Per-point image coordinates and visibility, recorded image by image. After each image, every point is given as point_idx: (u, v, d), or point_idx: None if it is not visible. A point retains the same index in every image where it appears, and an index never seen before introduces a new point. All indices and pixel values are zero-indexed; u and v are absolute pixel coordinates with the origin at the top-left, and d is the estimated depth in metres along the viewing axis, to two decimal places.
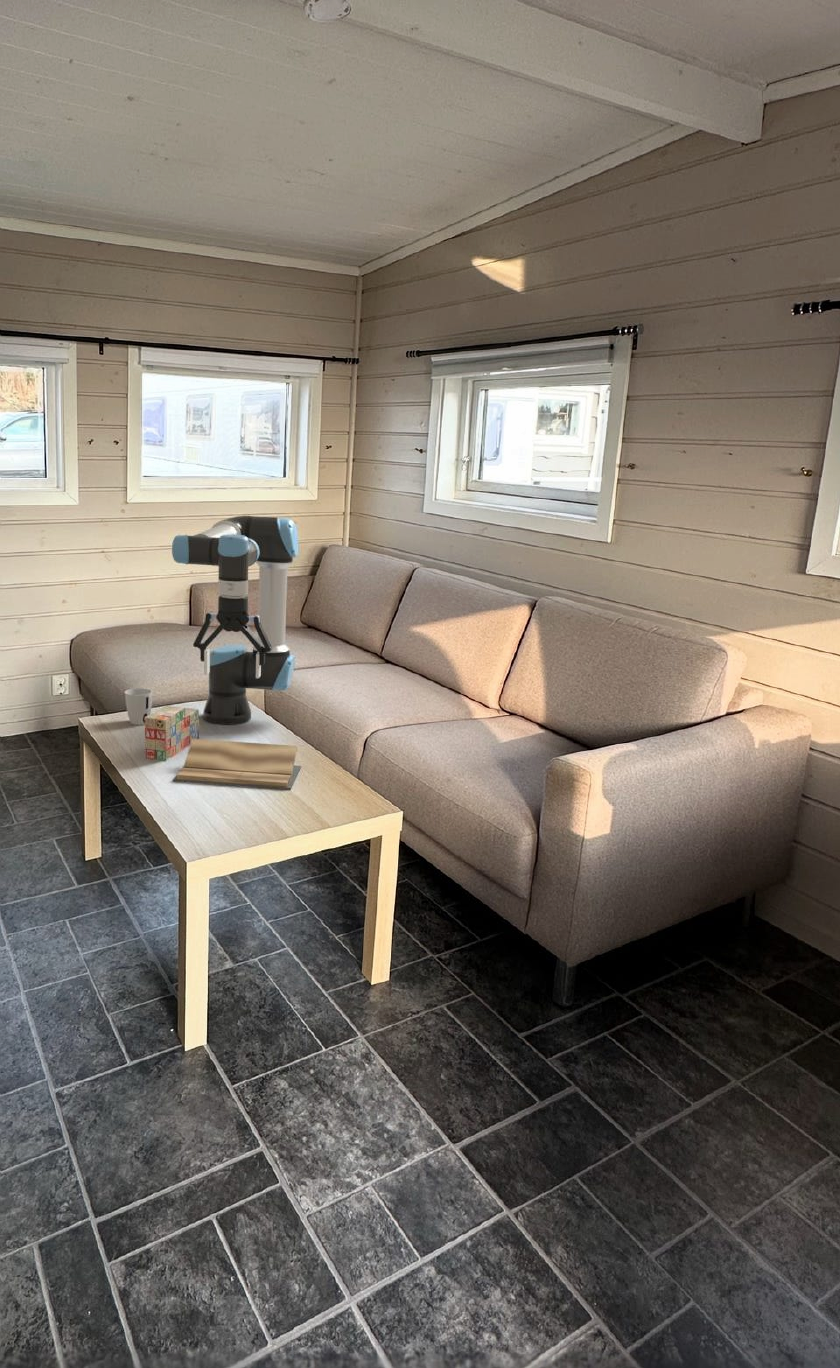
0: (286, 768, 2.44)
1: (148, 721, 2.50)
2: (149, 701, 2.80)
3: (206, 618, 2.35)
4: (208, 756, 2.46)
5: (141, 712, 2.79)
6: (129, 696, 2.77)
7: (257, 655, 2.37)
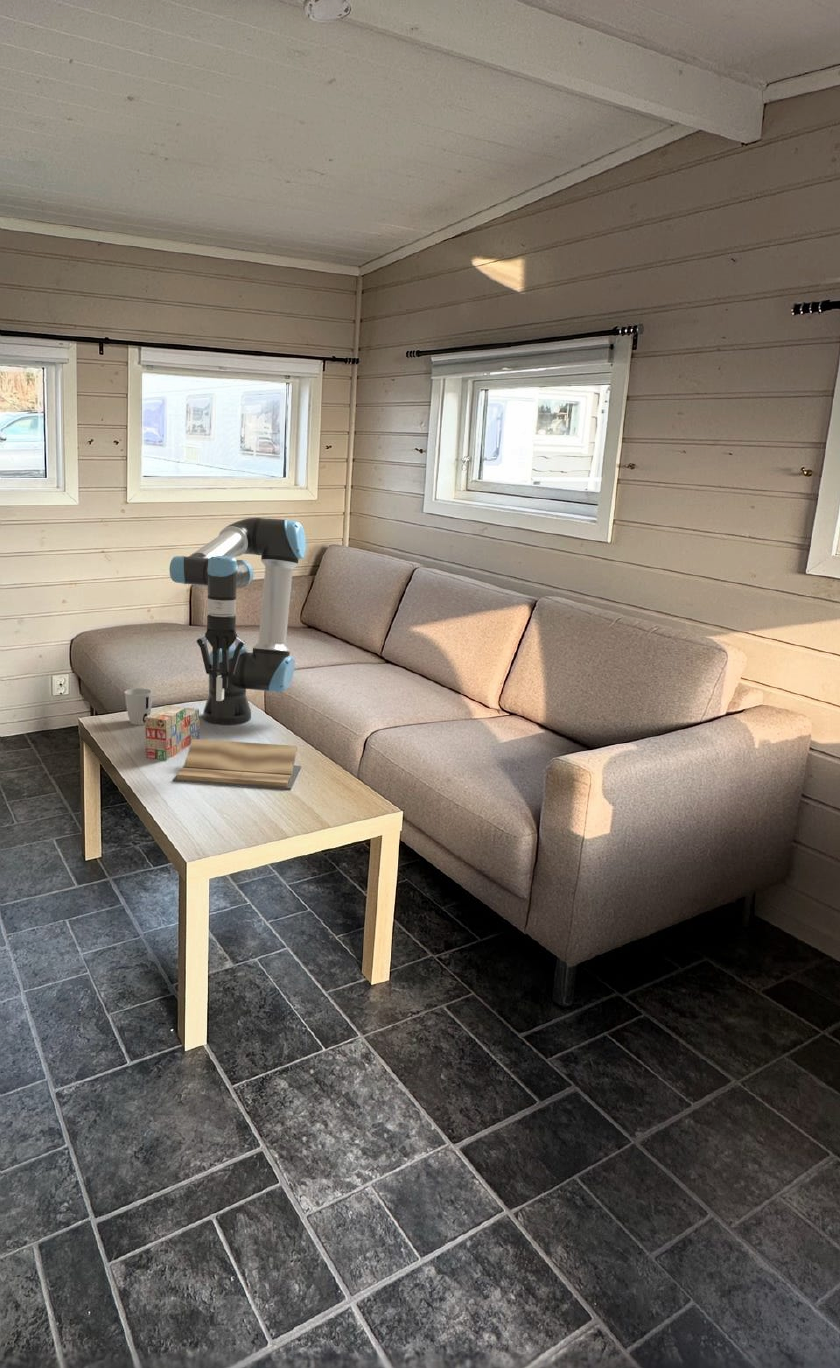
0: (286, 768, 2.44)
1: (149, 721, 2.50)
2: (149, 701, 2.80)
3: (199, 644, 2.44)
4: (208, 756, 2.46)
5: (141, 712, 2.79)
6: (129, 696, 2.77)
7: (220, 679, 2.46)
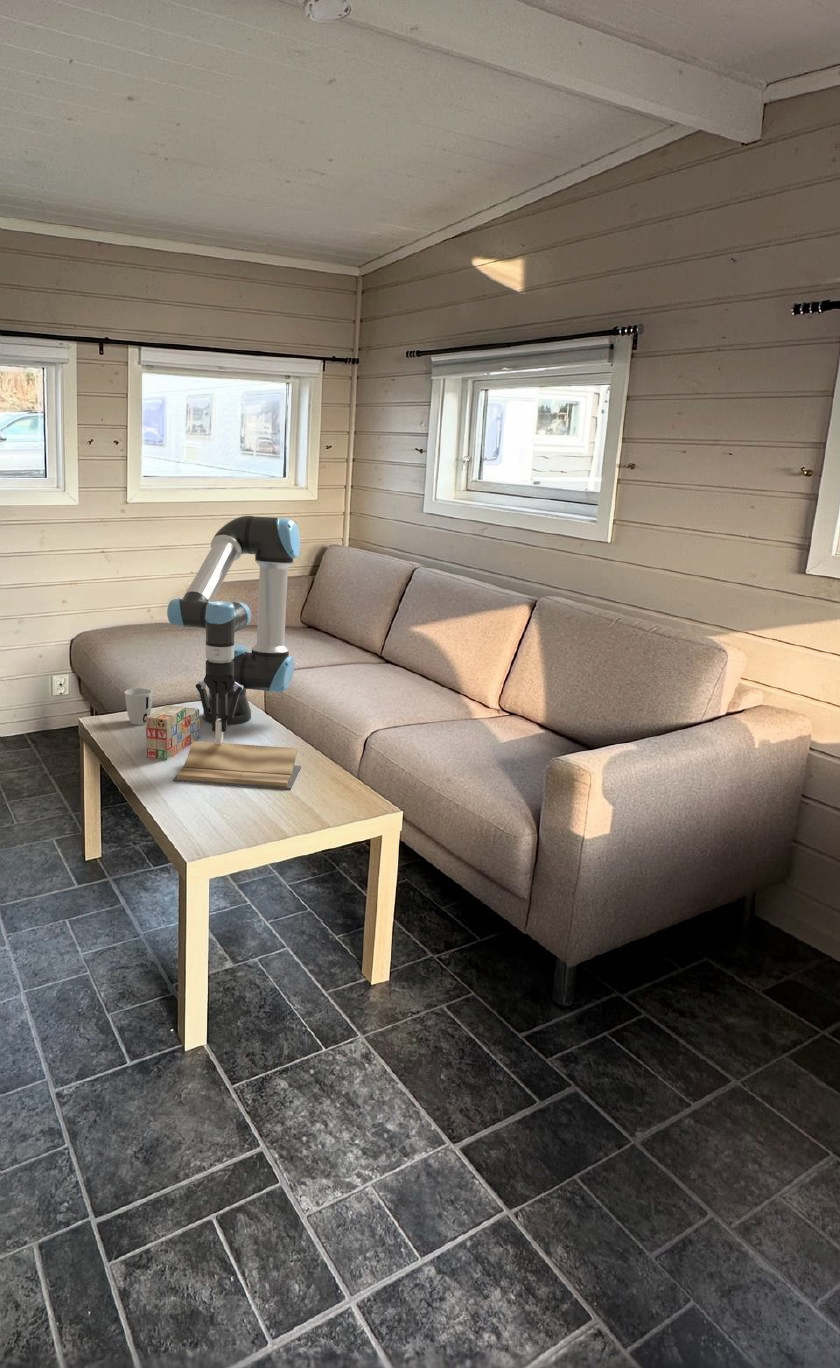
0: (286, 768, 2.44)
1: (149, 720, 2.51)
2: (149, 701, 2.80)
3: (198, 689, 2.45)
4: (208, 757, 2.46)
5: (141, 712, 2.79)
6: (129, 696, 2.77)
7: (219, 723, 2.48)
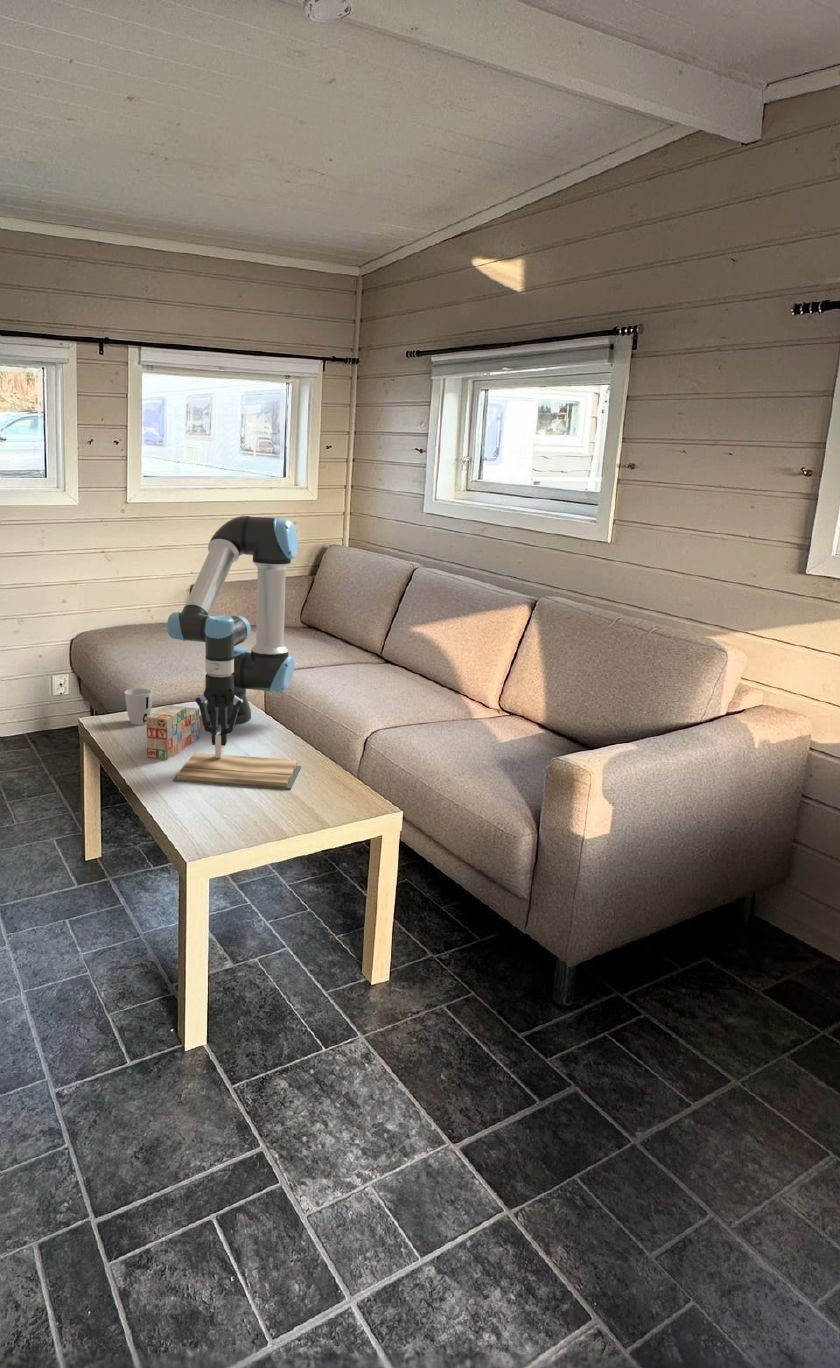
0: (286, 771, 2.45)
1: (150, 720, 2.51)
2: (149, 701, 2.80)
3: (198, 703, 2.46)
4: (208, 762, 2.47)
5: (141, 712, 2.79)
6: (129, 696, 2.77)
7: (219, 736, 2.48)
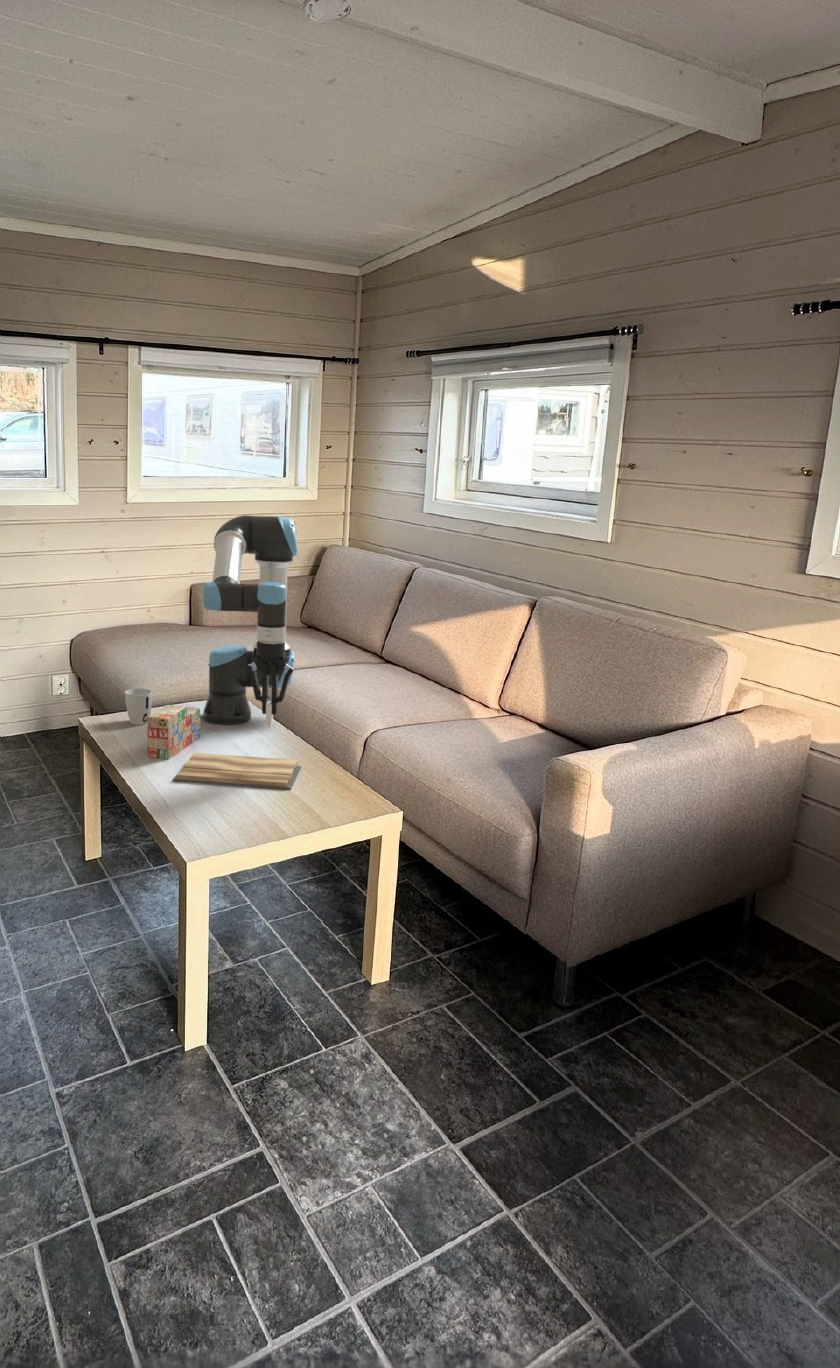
0: (286, 771, 2.45)
1: (151, 720, 2.51)
2: (149, 701, 2.80)
3: (249, 671, 2.43)
4: (208, 762, 2.47)
5: (141, 712, 2.79)
6: (129, 696, 2.77)
7: (270, 705, 2.45)
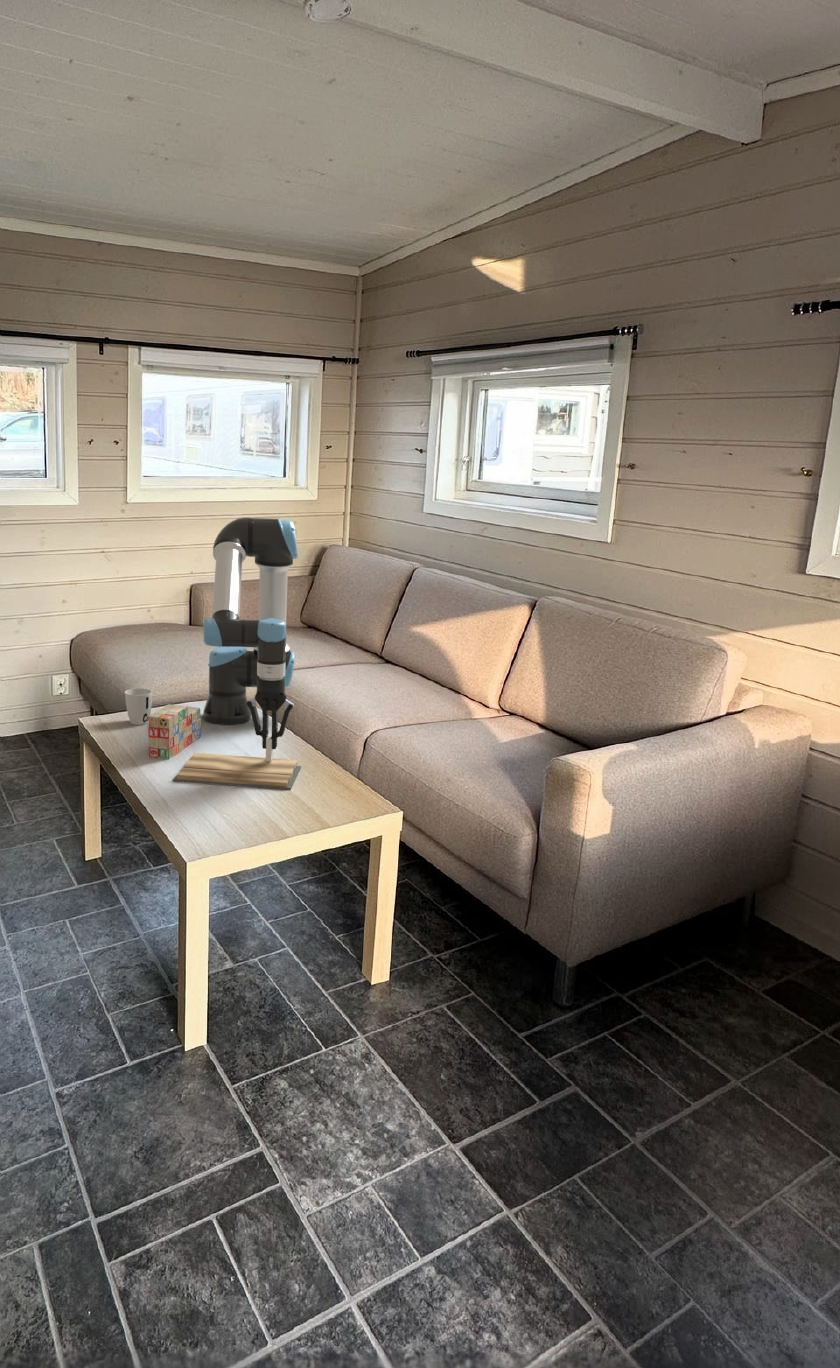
0: (286, 771, 2.45)
1: (151, 720, 2.51)
2: (149, 701, 2.80)
3: (249, 706, 2.46)
4: (208, 762, 2.47)
5: (141, 712, 2.79)
6: (129, 696, 2.77)
7: (270, 740, 2.48)
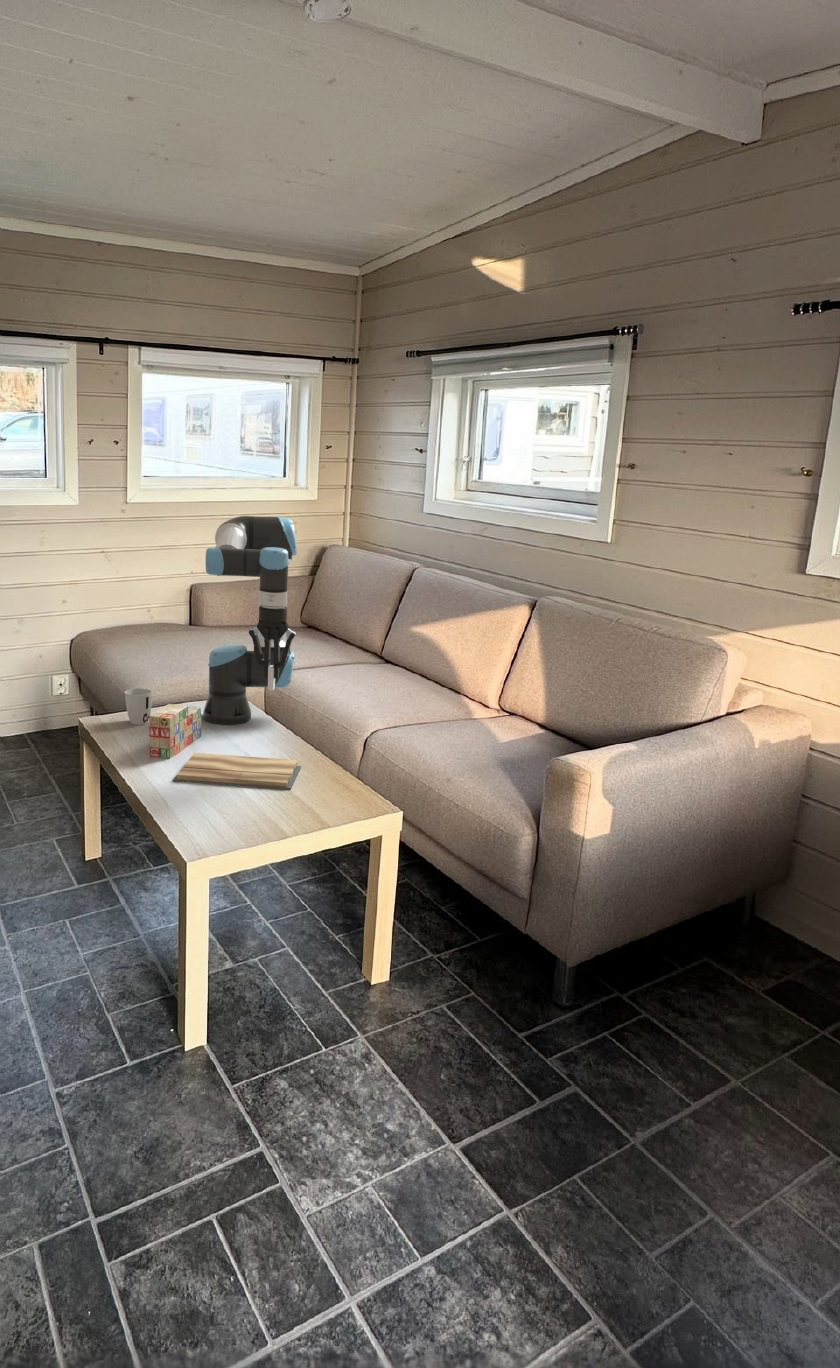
0: (286, 771, 2.45)
1: (152, 719, 2.52)
2: (149, 701, 2.80)
3: (251, 635, 2.47)
4: (208, 762, 2.47)
5: (141, 712, 2.79)
6: (129, 696, 2.77)
7: (272, 669, 2.49)
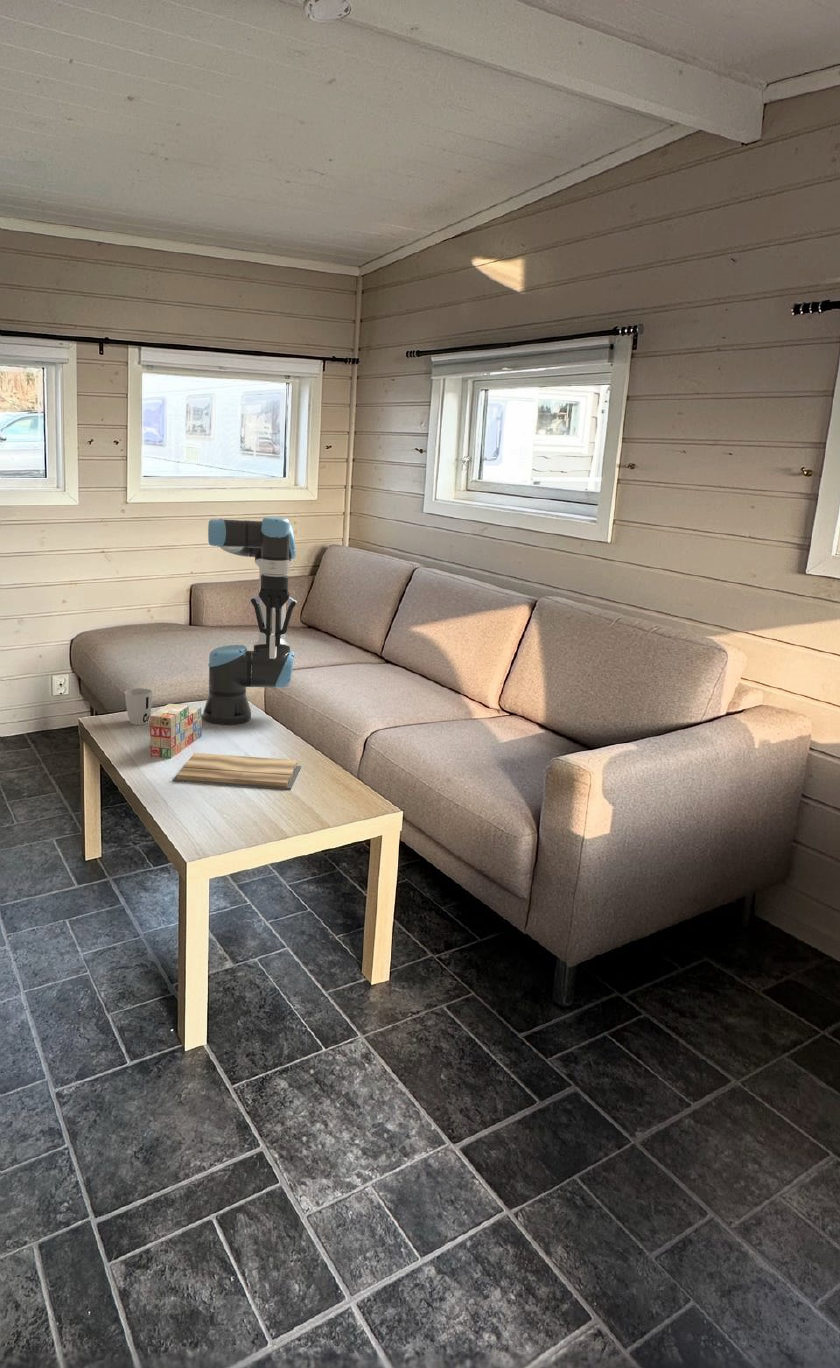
0: (286, 771, 2.45)
1: (153, 719, 2.52)
2: (149, 701, 2.80)
3: (253, 603, 2.52)
4: (208, 762, 2.47)
5: (141, 712, 2.79)
6: (129, 696, 2.77)
7: (273, 637, 2.54)
